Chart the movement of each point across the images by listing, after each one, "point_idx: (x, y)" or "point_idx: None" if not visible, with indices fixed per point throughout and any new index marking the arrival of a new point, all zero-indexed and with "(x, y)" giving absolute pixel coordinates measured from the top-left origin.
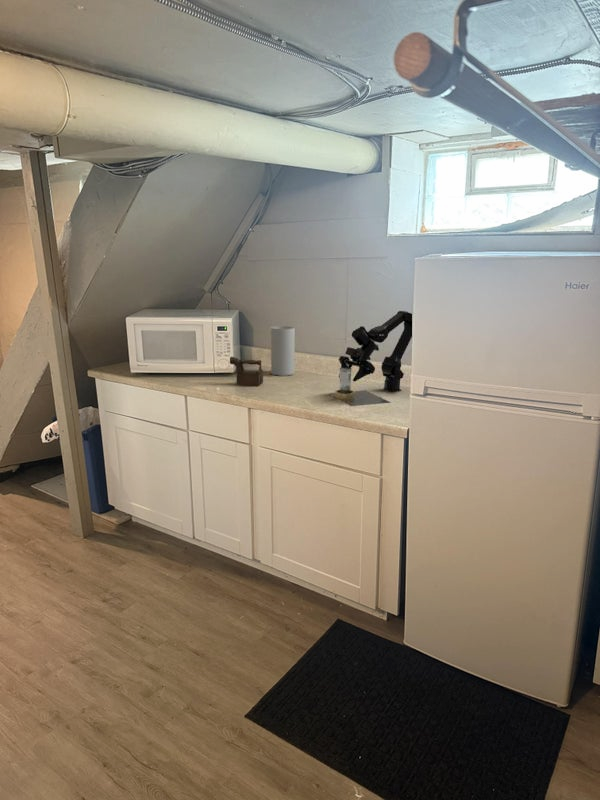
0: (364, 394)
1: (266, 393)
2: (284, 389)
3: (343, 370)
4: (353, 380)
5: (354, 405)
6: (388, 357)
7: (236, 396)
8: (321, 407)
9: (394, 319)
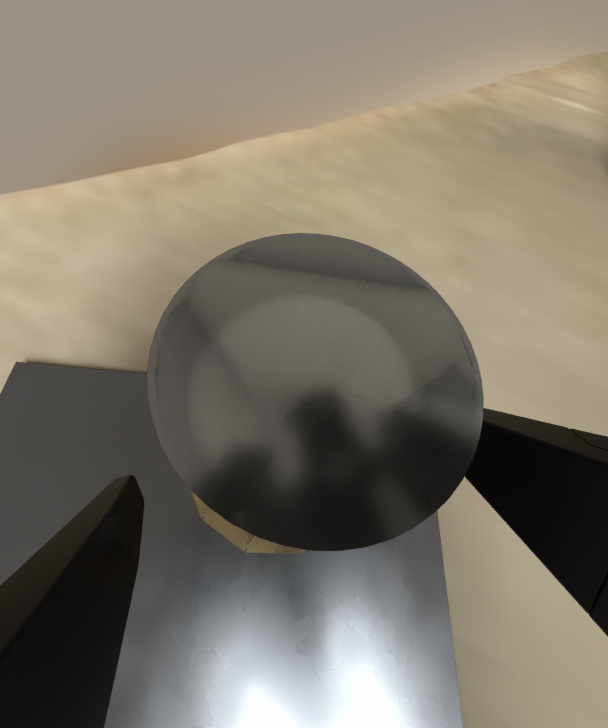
0: (300, 723)
1: (495, 175)
2: (569, 257)
3: (229, 270)
4: (116, 479)
5: (8, 394)
6: None
7: (460, 98)
8: (158, 236)
9: None
